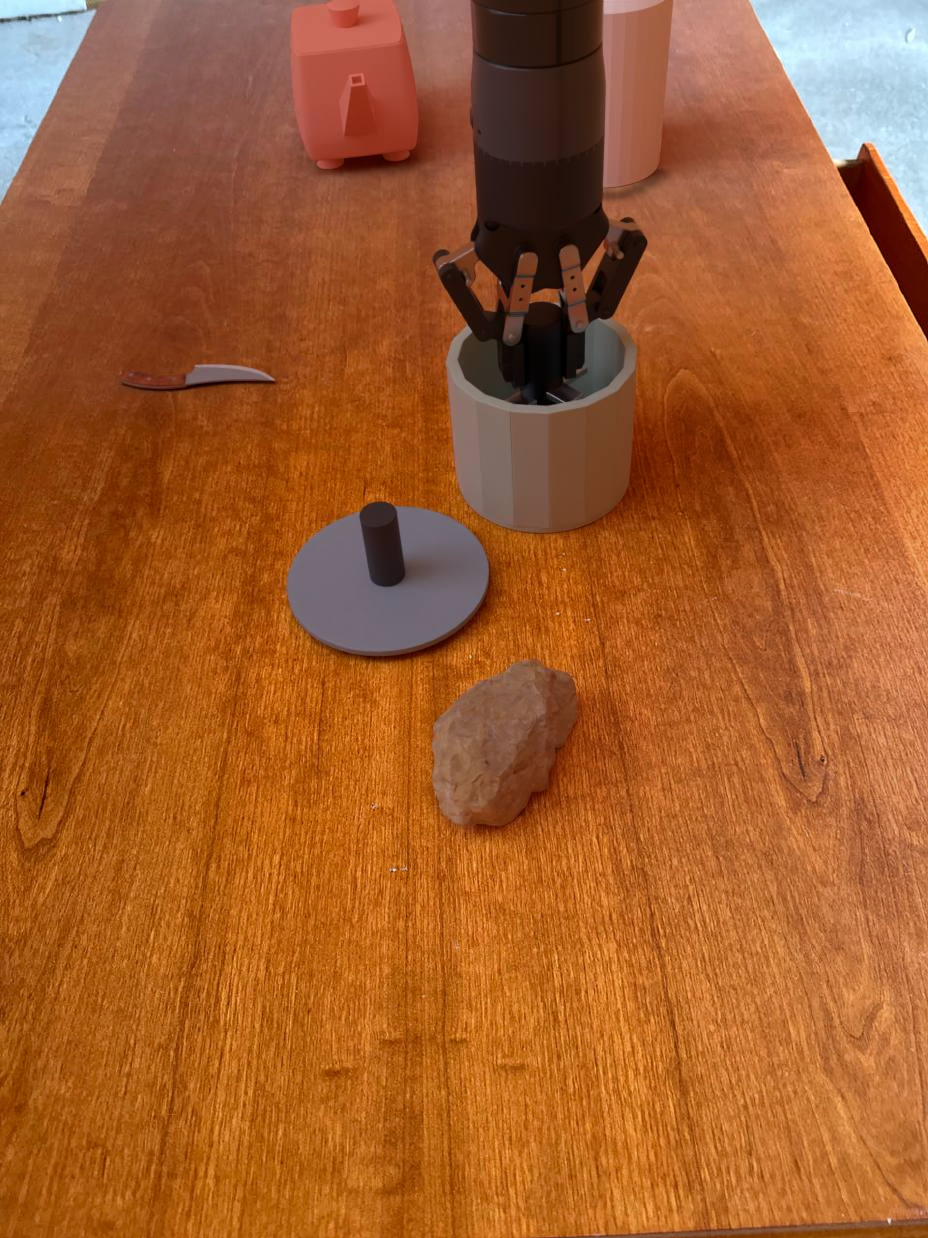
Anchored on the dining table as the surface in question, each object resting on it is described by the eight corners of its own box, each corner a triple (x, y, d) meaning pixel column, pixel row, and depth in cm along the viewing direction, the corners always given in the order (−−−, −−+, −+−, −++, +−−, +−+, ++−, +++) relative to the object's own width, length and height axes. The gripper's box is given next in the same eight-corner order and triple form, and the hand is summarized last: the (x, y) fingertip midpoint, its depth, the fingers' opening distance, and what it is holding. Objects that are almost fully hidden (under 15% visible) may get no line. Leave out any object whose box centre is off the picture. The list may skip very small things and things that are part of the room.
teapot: (431, 187, 114) (418, 39, 104) (305, 202, 114) (280, 55, 103) (411, 95, 129) (398, -43, 119) (299, 108, 129) (276, -29, 118)
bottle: (656, 130, 120) (674, -148, 101) (668, 185, 112) (689, -106, 93) (543, 136, 120) (540, -140, 102) (546, 191, 112) (544, -97, 94)
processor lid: (464, 501, 82) (458, 428, 78) (512, 637, 73) (508, 564, 69) (278, 539, 81) (260, 467, 76) (303, 682, 72) (285, 611, 67)
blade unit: (546, 359, 82) (546, 272, 77) (613, 395, 79) (617, 307, 74) (470, 407, 79) (464, 319, 74) (536, 447, 76) (534, 358, 71)
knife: (278, 358, 95) (274, 379, 93) (280, 364, 95) (275, 385, 93) (121, 364, 96) (114, 385, 93) (123, 370, 96) (115, 392, 94)
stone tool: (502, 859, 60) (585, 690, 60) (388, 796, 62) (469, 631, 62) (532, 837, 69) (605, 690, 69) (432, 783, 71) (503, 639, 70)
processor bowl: (599, 407, 89) (603, 288, 81) (653, 512, 80) (663, 390, 73) (441, 438, 87) (430, 320, 80) (480, 548, 79) (471, 428, 71)
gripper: (431, 175, 61) (453, 429, 74) (679, 133, 63) (658, 389, 76) (404, 117, 66) (429, 364, 79) (635, 79, 68) (622, 328, 81)
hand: (541, 375), depth 77 cm, fingers closed on blade unit, 3 cm apart
